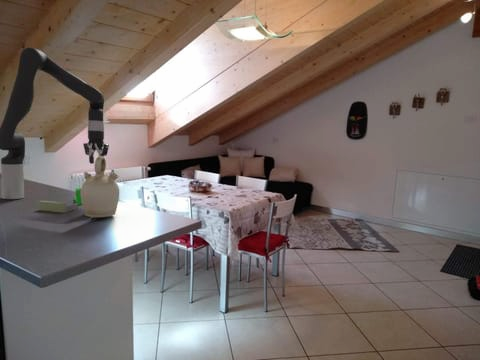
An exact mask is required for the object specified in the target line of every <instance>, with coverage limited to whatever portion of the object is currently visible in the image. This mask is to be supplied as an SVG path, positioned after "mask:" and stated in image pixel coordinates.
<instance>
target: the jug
mask: <svg viewBox="0 0 480 360" xmlns="http://www.w3.org/2000/svg"><path fill="white" fill-rule="evenodd" d="M106 167H107V161H106V158H105V156H104V157H102V156H99V155H98V156H97V157H96V158H95V160H94V172H95V175H93V176H92V175H91V173H90V172H88V171H85V172H83V175H84V179H85V181H84V182H83V184H82V186H81V187H80V188H81V193H80V195H81V201H82V205H81V206H82V210H83V212H84V213H83V214H84V216H85V217H87V218H88V217H89V218H107V217H112V216H115V215H116V213H117V209H118V205H119V200H120V199H119V198H120V188H119V185H118V183H117V181H116V179H119V175H118V174H117V173H115V172H114V171H110V174H109V176H107V175H106V174H105V172H106V170H107V169H106Z"/></svg>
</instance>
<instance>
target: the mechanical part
mask: <svg viewBox="0 0 480 360" xmlns="http://www.w3.org/2000/svg"><path fill="white" fill-rule="evenodd" d="M81 188H82V187H77V188H75V197H74V201H75V204H78V206H82V201H81V195H80V193H81Z"/></svg>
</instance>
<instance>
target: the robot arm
mask: <svg viewBox="0 0 480 360" xmlns="http://www.w3.org/2000/svg"><path fill="white" fill-rule="evenodd" d="M38 70H39V71H41V72H44V73H46V74H48V75H50V76H51V77H52V78H54V79H55V80H57V81H58V82H59V83H61V84H62V85H63V86H64V87H66V88H67V89H69V91H72V92H74V93H76V94H78V95H80V96H81V97H83V98H84V99H85V100H87V101H88V102H89V109H88V112H87V115H88V116H87V118H88V120H87V122H88V123H87V139H88V142H87V143H86V142H85V143H84V142H83V148H84V154H85V155H87V156H88V161H89V164H91V165H92V164H93V165H94V164H95V155H94V154H95V152H96V153H97V154H98V157H99V156H102V157H104V158H105V157H106V156H107V155H108V152H109V146H110V145H109V143H105V141H104V140H105V125H104V107H105V106H104V104H105V97H104V94H103V92H101V91H100V90H99V89H97V88H95V87H94V86H92V85H90V84H89V83H87V82H86V81H84V80H83V79H81V78H80V77H78V76H76V75H74V74H73V73H71V72H70V71H68V70H66V69H65V68H64V67H61V66H60V65H59V64H57V63H56V62H55V61H54V60H52V59H51V57H49V56H48V55H46V54H45V53H44V52H43V51H42V50H40V49H38V48H34V47H26V48H24V49H23V50H22V51H21V53H20V55H19V62H18V67H17V72H16V73H17V74H16V77H15V81H14V83H13V87H12V90H11V93H10V97H9V99H8V103H7V108H6V112H5V114H4V117H3V120H2V123H1V125H0V150H2V151H8V152H7V154H6V155H4V156H3V157H1V158H0V167H1V168H0V169H1V170H0V171H1V178H0V198H1V199H3V200H17V199H18V200H19V199H24V198H25V180H24V179H25V178H24V160H25V157H26V141H25V140H26V139H25V137H24V135H23V134H22V133H21V132H19V131H16V129H17V126H18V125H20V124H19V123H20V122H21V121H22V120H24V119H25V117H27V115H28V114H29V113H30V110H31V108H32V105H33V103H34V98H35V86H34V84H35V83H34V82H35V77H36V75H37V72H38Z"/></svg>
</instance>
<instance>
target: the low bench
mask: <svg viewBox="0 0 480 360" xmlns="http://www.w3.org/2000/svg"><path fill="white" fill-rule="evenodd" d="M78 207H79V205H78V204H76V203H71V204H67V203H66V202H58V201H49V200H39V201H38V208H39V209H38V210H39V211H44V212H53V213H62V214H64V213H68V212H71V211H74V210H79V209H78Z"/></svg>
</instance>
